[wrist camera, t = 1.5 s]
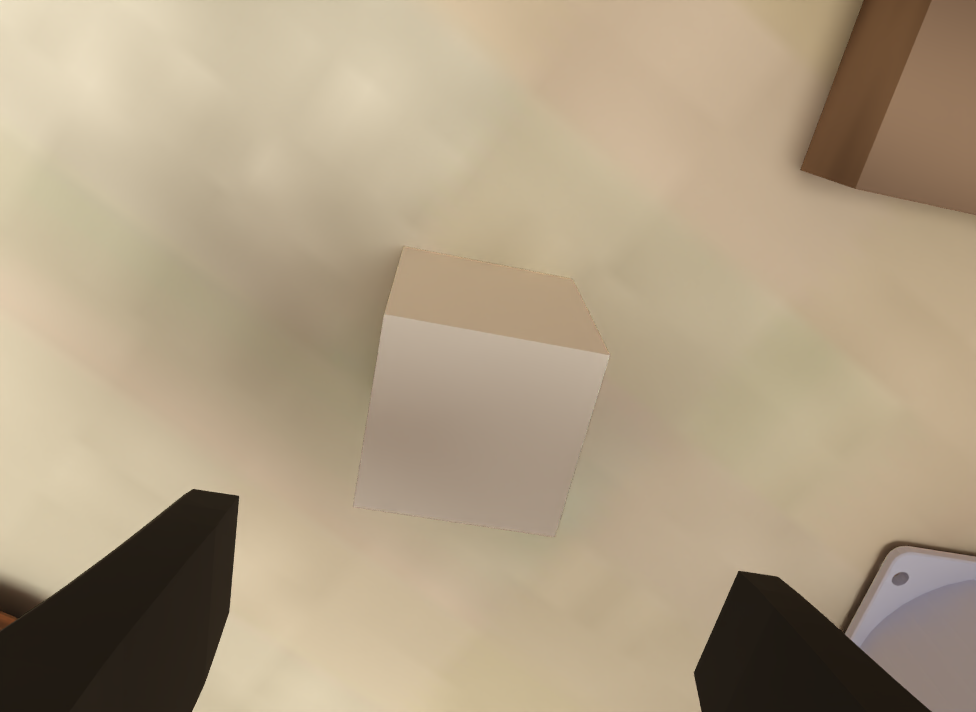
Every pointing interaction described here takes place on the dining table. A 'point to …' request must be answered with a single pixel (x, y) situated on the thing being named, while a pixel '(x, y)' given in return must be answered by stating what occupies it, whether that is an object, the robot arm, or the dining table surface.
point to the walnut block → (904, 105)
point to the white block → (479, 394)
